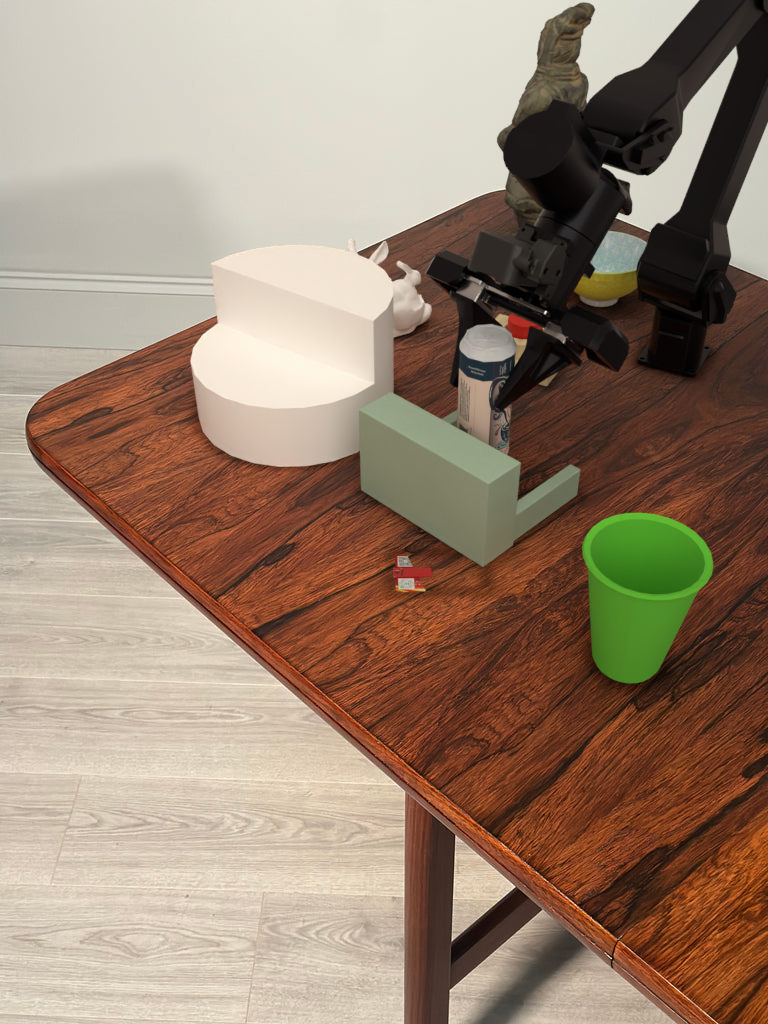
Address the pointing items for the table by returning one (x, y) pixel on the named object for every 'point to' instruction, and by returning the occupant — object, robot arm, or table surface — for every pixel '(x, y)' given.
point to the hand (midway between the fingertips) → (474, 397)
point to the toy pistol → (409, 575)
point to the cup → (640, 590)
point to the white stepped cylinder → (293, 353)
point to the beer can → (485, 384)
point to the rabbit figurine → (402, 294)
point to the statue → (549, 91)
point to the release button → (519, 327)
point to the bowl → (612, 270)
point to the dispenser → (451, 479)
